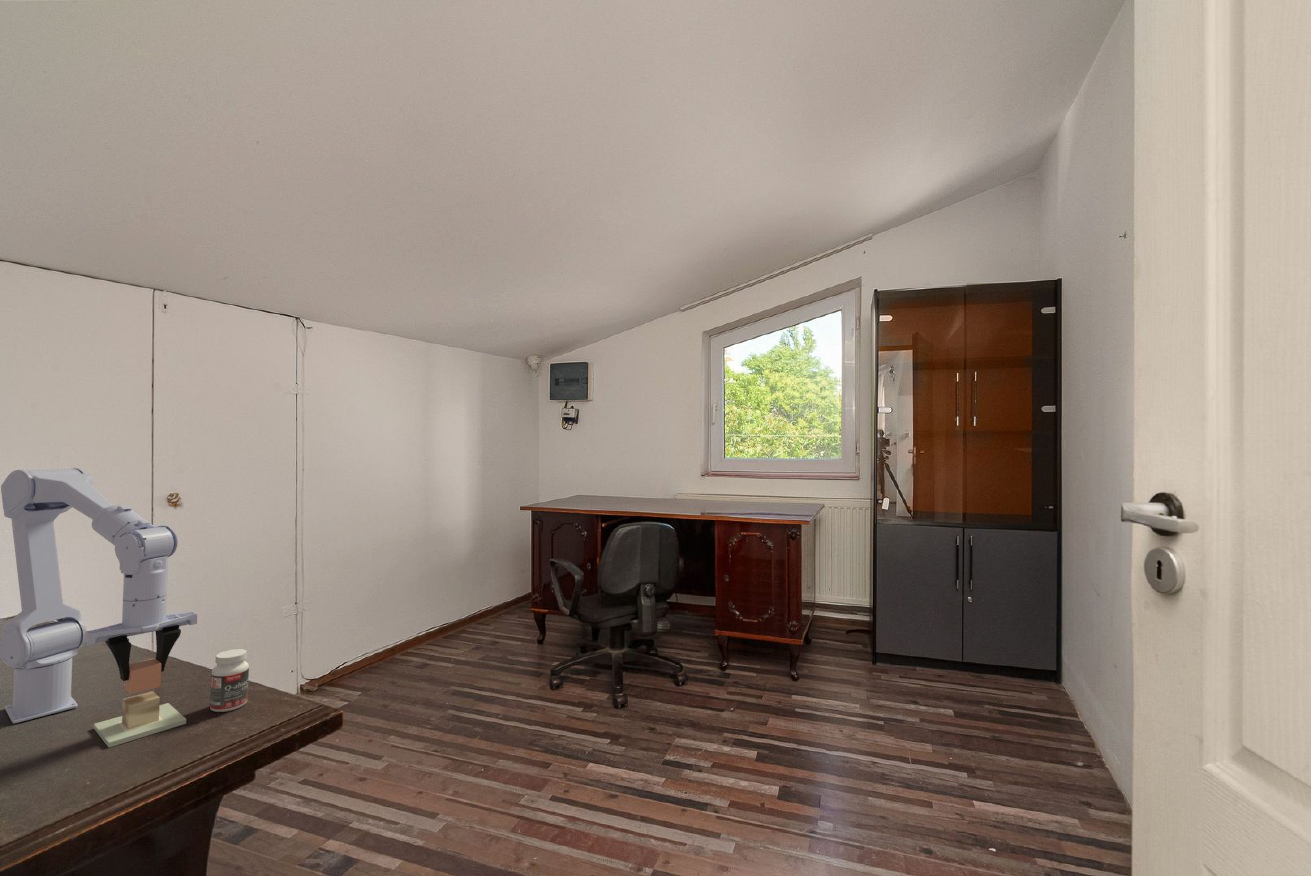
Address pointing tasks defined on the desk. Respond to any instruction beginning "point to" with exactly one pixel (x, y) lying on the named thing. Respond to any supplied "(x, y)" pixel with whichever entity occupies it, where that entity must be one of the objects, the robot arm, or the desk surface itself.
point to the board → (118, 733)
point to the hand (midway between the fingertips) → (142, 674)
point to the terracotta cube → (143, 676)
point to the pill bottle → (229, 681)
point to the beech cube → (140, 710)
